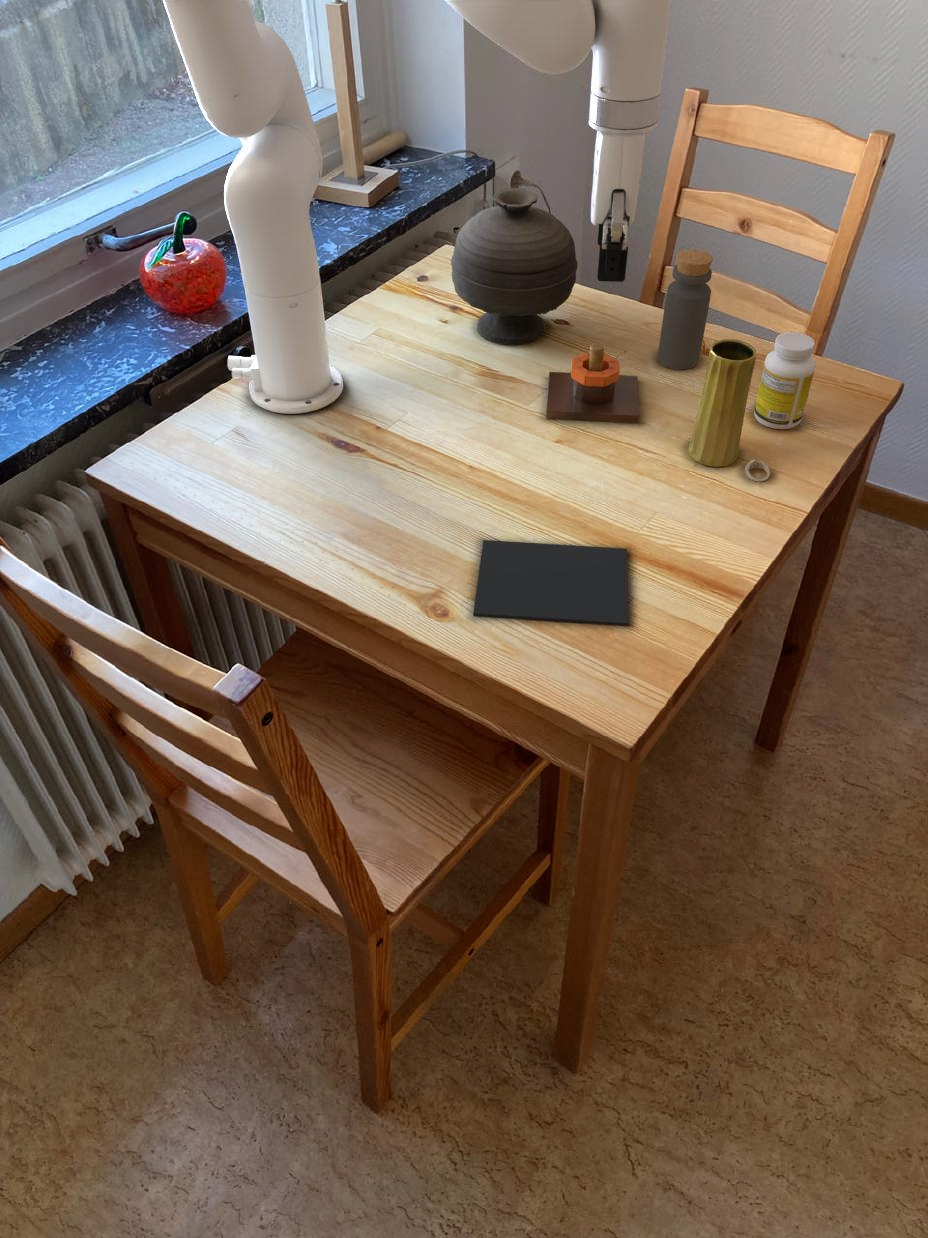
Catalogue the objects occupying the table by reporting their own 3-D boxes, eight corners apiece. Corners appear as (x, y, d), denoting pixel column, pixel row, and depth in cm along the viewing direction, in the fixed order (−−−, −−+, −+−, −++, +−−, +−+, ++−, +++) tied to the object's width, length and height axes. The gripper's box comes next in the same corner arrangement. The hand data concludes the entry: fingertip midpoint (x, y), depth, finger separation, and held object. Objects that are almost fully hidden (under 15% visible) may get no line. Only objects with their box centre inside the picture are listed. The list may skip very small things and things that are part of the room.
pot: (563, 363, 139) (561, 218, 126) (442, 356, 144) (427, 215, 130) (588, 308, 152) (588, 171, 138) (476, 303, 156) (465, 170, 143)
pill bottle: (786, 402, 133) (805, 325, 125) (810, 426, 128) (831, 348, 121) (744, 409, 131) (761, 332, 124) (766, 434, 127) (785, 356, 120)
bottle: (703, 354, 142) (722, 251, 131) (692, 373, 138) (710, 269, 128) (664, 345, 144) (679, 243, 133) (651, 364, 140) (666, 261, 129)
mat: (473, 616, 103) (473, 613, 103) (483, 542, 112) (483, 539, 112) (628, 626, 102) (628, 623, 102) (626, 551, 111) (626, 548, 110)
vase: (737, 470, 122) (760, 365, 112) (686, 464, 122) (705, 360, 113) (737, 442, 126) (760, 339, 116) (688, 437, 127) (707, 334, 117)
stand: (545, 418, 130) (549, 363, 124) (548, 379, 137) (552, 325, 132) (638, 423, 129) (645, 368, 124) (636, 383, 136) (643, 329, 131)
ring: (748, 486, 120) (739, 468, 122) (772, 483, 121) (762, 465, 122) (752, 478, 119) (743, 460, 121) (775, 475, 119) (766, 456, 121)
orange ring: (570, 385, 128) (571, 375, 127) (571, 360, 133) (572, 351, 132) (618, 387, 128) (620, 377, 127) (618, 363, 132) (619, 353, 131)
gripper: (590, 84, 114) (580, 231, 126) (588, 135, 102) (578, 294, 114) (656, 85, 114) (640, 233, 126) (662, 137, 101) (644, 296, 113)
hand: (610, 262), depth 120 cm, fingers open, 9 cm apart
